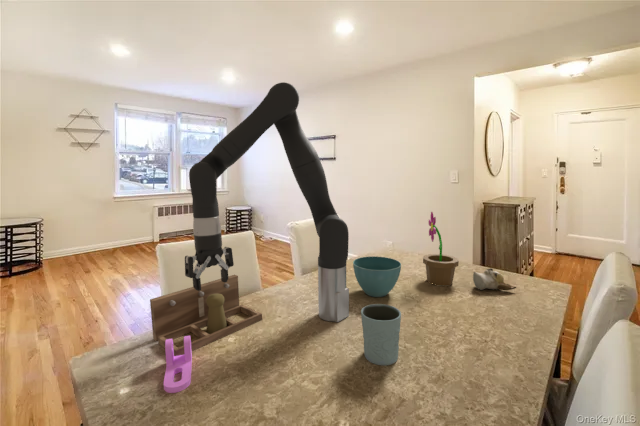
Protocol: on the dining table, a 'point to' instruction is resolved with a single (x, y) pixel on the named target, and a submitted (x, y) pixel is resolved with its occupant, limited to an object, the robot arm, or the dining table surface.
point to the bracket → (177, 366)
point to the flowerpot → (439, 261)
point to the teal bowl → (376, 274)
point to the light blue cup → (381, 333)
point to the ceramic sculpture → (490, 280)
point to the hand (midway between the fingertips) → (211, 285)
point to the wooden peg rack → (197, 313)
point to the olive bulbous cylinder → (215, 313)
